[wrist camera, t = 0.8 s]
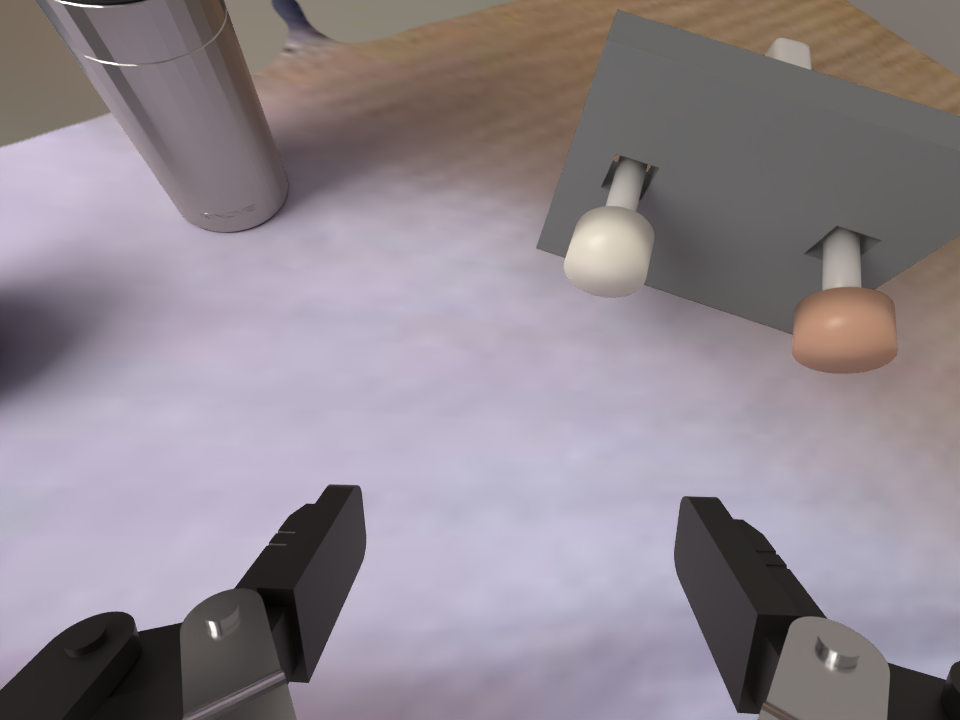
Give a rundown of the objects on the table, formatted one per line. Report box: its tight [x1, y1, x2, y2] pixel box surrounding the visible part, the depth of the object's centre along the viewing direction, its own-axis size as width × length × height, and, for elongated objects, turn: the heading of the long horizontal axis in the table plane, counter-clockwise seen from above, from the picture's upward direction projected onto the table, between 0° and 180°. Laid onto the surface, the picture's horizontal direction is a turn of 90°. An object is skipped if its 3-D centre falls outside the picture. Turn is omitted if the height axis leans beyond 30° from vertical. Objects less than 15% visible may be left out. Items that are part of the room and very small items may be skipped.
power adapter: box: [765, 37, 812, 70], centre depth 50 cm, size 11×5×6 cm, turn 166°
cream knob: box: [564, 155, 655, 298], centre depth 31 cm, size 10×5×5 cm, turn 162°
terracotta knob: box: [792, 226, 898, 373], centre depth 31 cm, size 10×5×5 cm, turn 162°
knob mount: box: [537, 10, 960, 334], centre depth 35 cm, size 8×24×18 cm, turn 71°
